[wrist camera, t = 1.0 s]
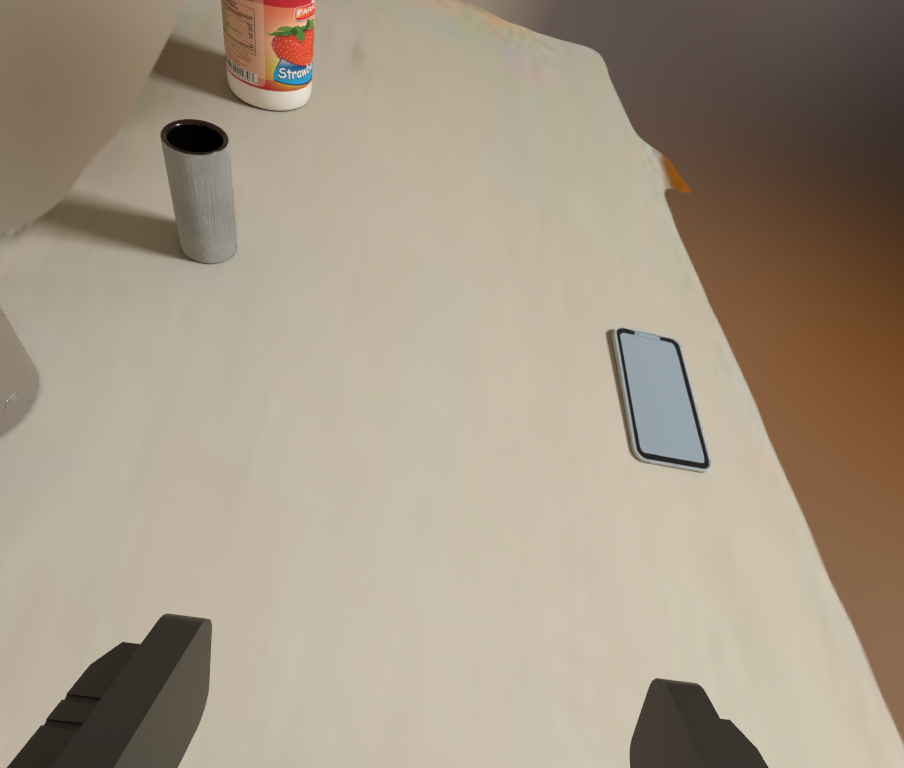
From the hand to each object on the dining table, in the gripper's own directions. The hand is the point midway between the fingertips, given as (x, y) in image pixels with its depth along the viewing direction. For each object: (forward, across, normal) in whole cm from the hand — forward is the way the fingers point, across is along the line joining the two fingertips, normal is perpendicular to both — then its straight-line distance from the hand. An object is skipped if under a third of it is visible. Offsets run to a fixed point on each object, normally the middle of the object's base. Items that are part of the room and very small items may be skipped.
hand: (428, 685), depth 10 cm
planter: (+41, +21, -3) cm, 46 cm away
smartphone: (+40, -21, +4) cm, 45 cm away
